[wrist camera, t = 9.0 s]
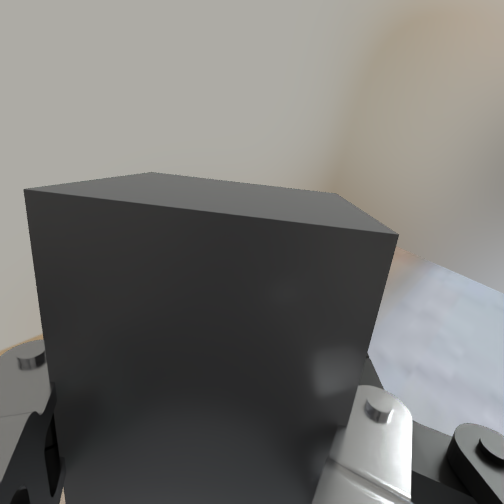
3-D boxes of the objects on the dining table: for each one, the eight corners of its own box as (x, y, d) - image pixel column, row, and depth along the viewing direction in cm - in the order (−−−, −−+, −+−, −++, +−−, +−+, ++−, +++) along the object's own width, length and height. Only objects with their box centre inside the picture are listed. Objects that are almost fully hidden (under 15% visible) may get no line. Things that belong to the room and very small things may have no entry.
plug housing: (283, 663, 8) (398, 234, 4) (82, 625, 8) (23, 189, 5) (281, 480, 13) (336, 193, 9) (151, 459, 13) (151, 172, 9)
